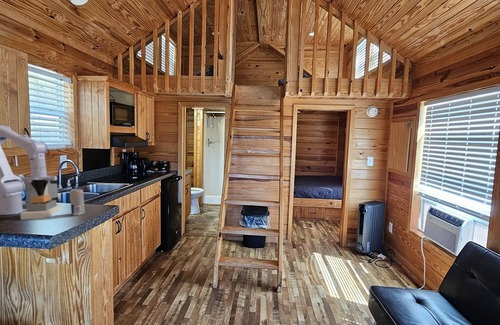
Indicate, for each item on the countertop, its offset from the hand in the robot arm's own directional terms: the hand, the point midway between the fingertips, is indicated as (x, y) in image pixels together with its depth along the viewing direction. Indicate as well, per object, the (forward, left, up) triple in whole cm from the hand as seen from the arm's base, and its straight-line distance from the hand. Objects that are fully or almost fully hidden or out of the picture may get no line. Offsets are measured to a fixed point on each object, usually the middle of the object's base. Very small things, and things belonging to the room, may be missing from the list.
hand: (41, 195), depth 126 cm
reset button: (0, 0, -3) cm, 3 cm away
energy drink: (+17, -2, -10) cm, 20 cm away
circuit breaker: (-10, +18, -10) cm, 23 cm away
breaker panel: (0, 0, -9) cm, 9 cm away
